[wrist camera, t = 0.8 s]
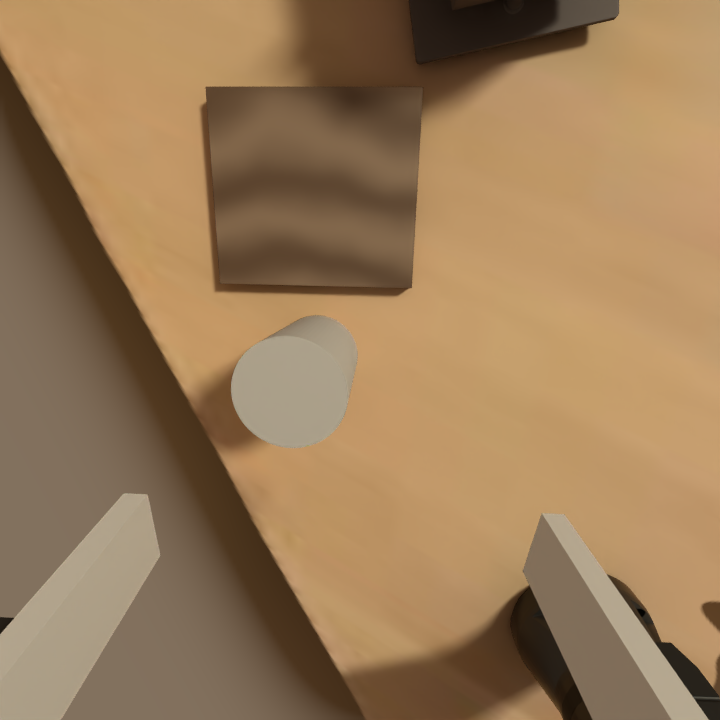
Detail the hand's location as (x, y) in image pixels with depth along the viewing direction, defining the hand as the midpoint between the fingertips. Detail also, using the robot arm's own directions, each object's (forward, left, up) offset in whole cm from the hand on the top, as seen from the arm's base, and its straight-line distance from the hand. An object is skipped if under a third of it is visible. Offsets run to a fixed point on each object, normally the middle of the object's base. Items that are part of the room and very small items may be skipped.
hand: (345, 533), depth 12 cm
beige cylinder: (0, +5, -24) cm, 25 cm away
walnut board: (+15, +5, -24) cm, 29 cm away
